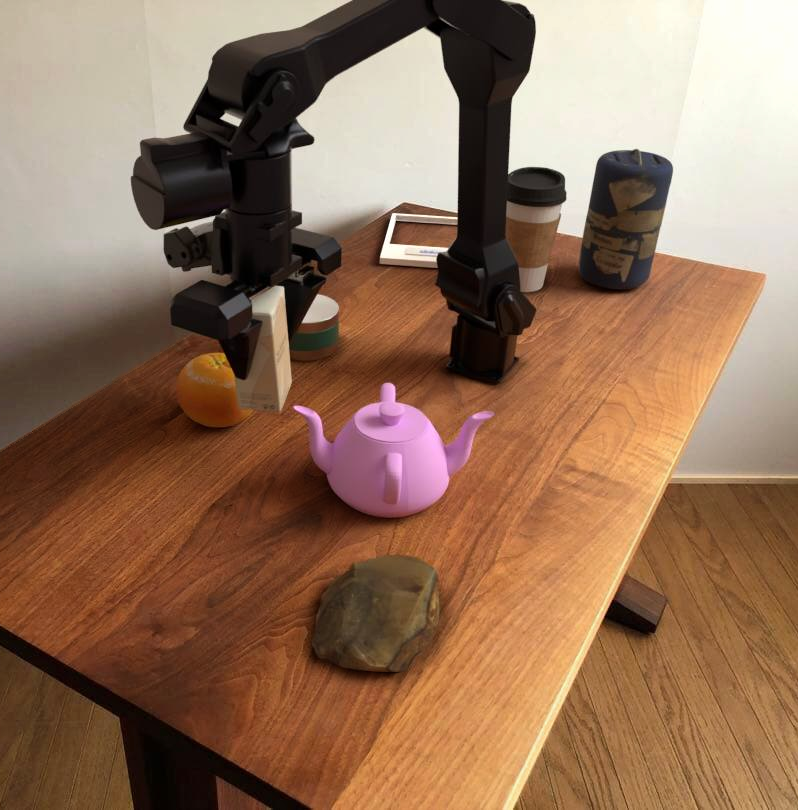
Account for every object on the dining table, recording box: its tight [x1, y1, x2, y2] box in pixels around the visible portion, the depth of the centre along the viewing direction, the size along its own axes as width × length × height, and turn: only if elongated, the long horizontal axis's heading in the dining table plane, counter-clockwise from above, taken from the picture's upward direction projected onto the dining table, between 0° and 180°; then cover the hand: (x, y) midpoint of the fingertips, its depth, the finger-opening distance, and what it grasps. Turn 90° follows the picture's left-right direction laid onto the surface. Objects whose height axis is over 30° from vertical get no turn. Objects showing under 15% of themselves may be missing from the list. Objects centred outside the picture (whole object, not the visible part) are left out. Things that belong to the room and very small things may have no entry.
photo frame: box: [379, 212, 458, 269], centre depth 136 cm, size 15×1×18 cm
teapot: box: [293, 382, 495, 519], centre depth 84 cm, size 12×14×9 cm
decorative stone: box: [311, 553, 440, 673], centre depth 71 cm, size 10×9×4 cm
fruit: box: [176, 352, 255, 428], centre depth 95 cm, size 8×8×8 cm
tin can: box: [289, 293, 340, 362], centre depth 108 cm, size 8×8×5 cm
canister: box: [577, 148, 674, 290], centre depth 121 cm, size 10×10×18 cm
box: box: [234, 286, 293, 413], centre depth 85 cm, size 5×4×11 cm
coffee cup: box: [506, 166, 568, 293], centre depth 121 cm, size 8×8×15 cm
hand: (262, 363), depth 86 cm, fingers closed on box, 6 cm apart
